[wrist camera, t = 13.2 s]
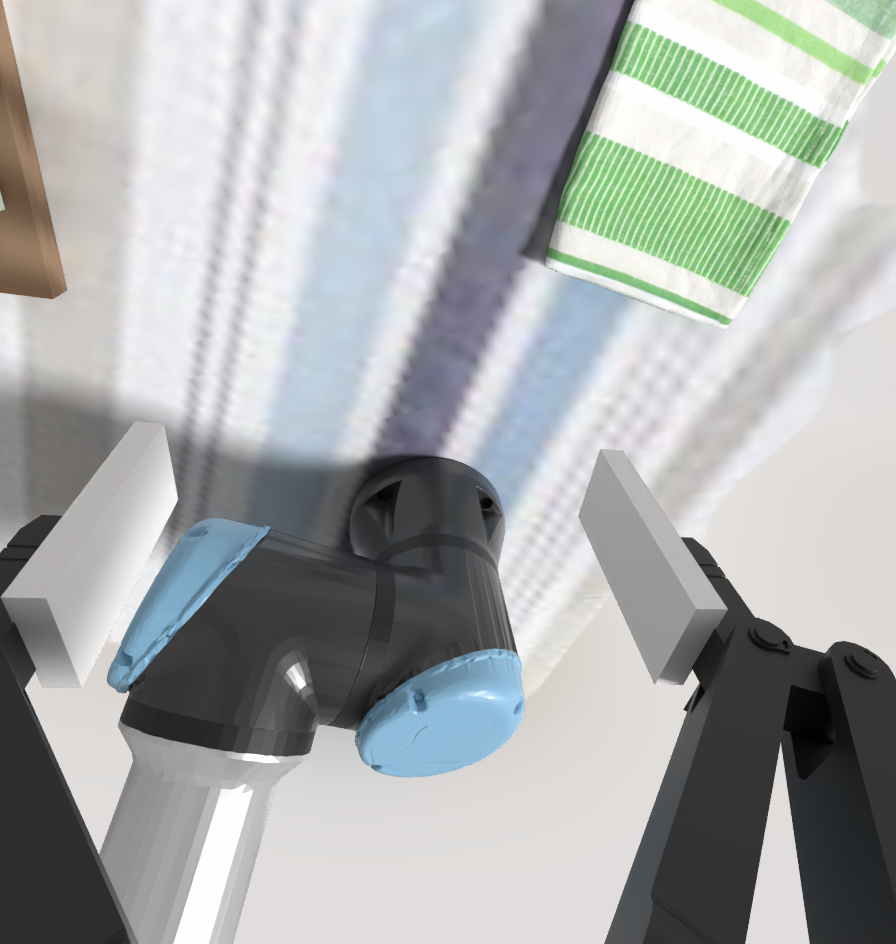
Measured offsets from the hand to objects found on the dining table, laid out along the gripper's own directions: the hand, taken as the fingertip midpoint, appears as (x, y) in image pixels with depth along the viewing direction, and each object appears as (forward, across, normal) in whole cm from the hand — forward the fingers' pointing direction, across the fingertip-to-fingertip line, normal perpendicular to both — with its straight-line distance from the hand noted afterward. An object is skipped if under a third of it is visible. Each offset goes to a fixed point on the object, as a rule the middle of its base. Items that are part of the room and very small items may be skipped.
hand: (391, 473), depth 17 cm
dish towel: (+29, -22, -10) cm, 37 cm away
